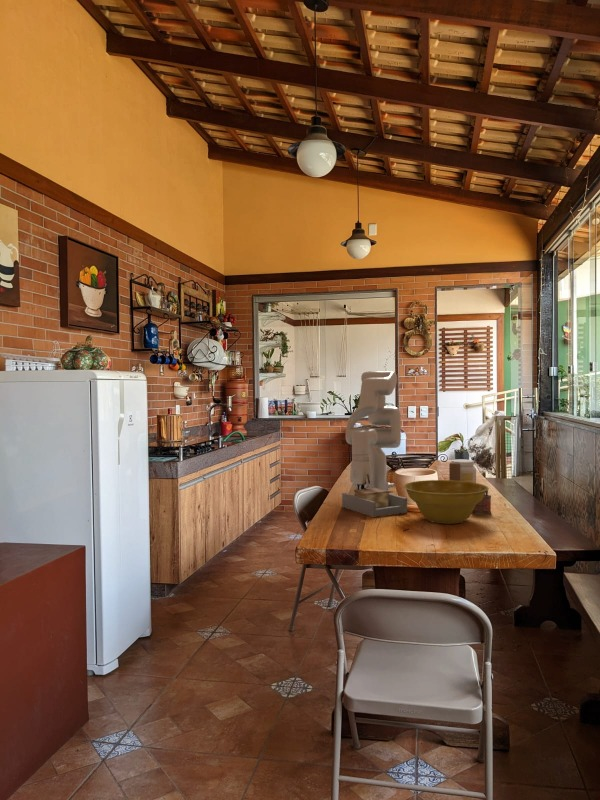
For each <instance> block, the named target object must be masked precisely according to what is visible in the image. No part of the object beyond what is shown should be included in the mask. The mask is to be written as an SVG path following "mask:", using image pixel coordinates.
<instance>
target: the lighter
mask: <svg viewBox="0 0 600 800" xmlns="http://www.w3.org/2000/svg"><path fill="white" fill-rule="evenodd" d="M491 498H492V495H491V494H489V489H488V490H487V491H486V492H485V495H484V497H483V499H482V501H480V502H478V503H477V504H476V505H475V508H474V510H473V512H472V513H471V514H479V515H492V510H491V509H492V506H491V505H492V502H491V501H492V499H491Z"/></svg>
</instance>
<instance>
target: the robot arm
mask: <svg viewBox="0 0 600 800" xmlns="http://www.w3.org/2000/svg"><path fill="white" fill-rule="evenodd" d="M360 380H361V383H360V384H361V385H360V392H359V400H358V401H359V402H358V407H357V408H356V409H354V411H353V412H352V413H351V415H350V416H349V418H348V420H347V423H346V428H345V441H346V443H347V444H349V445H352V446H351V453H352V454H351V455H352V456H351V458H352V459H351V463H350V472H349V473H350V474H349V475H350V476H349V477H350V478H349V480H350V483H351V484H352V485H354V486H355V490H358V489H367V488H380V489H384V490H387V491H389V493H390V489H389V488H395V483H394V482H391V483H390V482H387V455H386V453H385V451H384V450H383V449H397V448H399V447H400V446H401V441H402V431H401V429H402V426H401V425H402V422H401V421H402V419H401V417H402V415H401V411H400V408H398V407H396V406H386V396H390V395H392V393H393V391H394V390H395V388H396V386H397V383H398V376H397V374H396V372H395V371H393V370H367V371H365V372H362V373H361V376H360ZM366 417H367V421H368V423H369V424H370V425H371V426H378V427H379V428H377V427H373V428H368V427H367V428H366V427H365V428H364V427H362V428H361V427H356V428H355V425H356V423H357V422H359V421H360V420H362V419H364V418H366ZM380 426H381V427H382V426H383V428H380ZM385 426H387V427H391V428H384V427H385Z"/></svg>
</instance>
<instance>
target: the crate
mask: <svg viewBox="0 0 600 800" xmlns="http://www.w3.org/2000/svg"><path fill="white" fill-rule="evenodd" d="M353 492H354V496H356V497H360V498H363V499H367V500H370V501H373V502H376V508H377V507H385V506H388V493H389V494H390V492H389V491H387V490H384V489H380V488H367V489H358V490H356V489H354V490H353Z"/></svg>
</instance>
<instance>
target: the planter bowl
mask: <svg viewBox="0 0 600 800" xmlns="http://www.w3.org/2000/svg"><path fill="white" fill-rule="evenodd" d="M403 489H405V490H406V494H407V495H408V497H409V499H410V500H412V501H413V502H414V503H415V504H416V506H417V509H418V510H419V512H420V514H421V515H422V517H423V518H424V519H426V520H427V521H429V522H431V523H436V524H445V525H446V524H449V525H451V524H460V523H463V522H465V521H466V520H468V519H469V518H470V517H471V515H472V514H473V513H472V512H473V510H474V508H475V505H476V504H477V503H478V502H480V501H482V499H483V497H484V495H486V493H485V492H486V491H487V490H488V491H489V486H487V485H485V484H482V483H479V482H478V483H477V482H476V483H473V482H466V481H454V480H449V479H447V480H446V479H430V480H429V479H426V480H417V481H411V482H407V483H405V484H404V485H403Z"/></svg>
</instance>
